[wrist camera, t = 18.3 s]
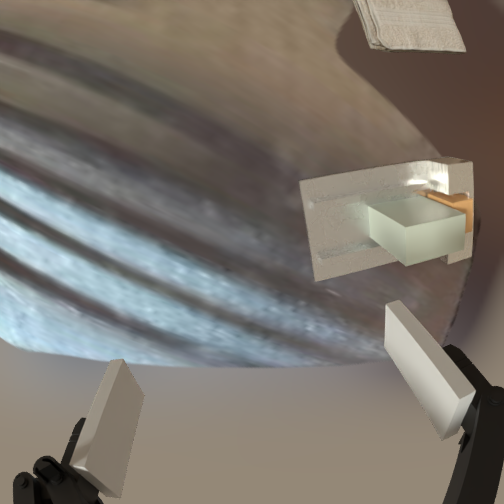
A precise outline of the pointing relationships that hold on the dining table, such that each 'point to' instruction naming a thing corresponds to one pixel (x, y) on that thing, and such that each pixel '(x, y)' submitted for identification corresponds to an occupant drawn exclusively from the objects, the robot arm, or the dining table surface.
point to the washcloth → (410, 26)
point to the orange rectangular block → (456, 205)
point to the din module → (417, 229)
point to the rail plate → (357, 216)
